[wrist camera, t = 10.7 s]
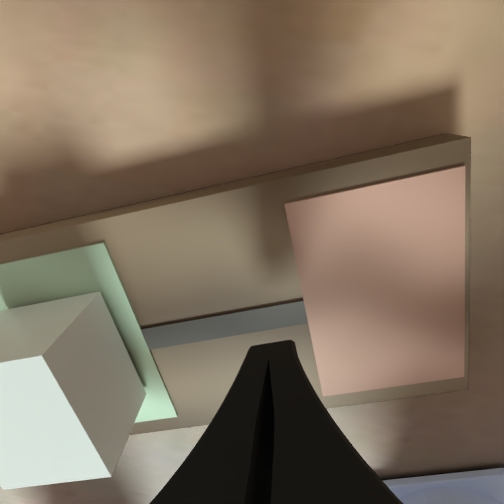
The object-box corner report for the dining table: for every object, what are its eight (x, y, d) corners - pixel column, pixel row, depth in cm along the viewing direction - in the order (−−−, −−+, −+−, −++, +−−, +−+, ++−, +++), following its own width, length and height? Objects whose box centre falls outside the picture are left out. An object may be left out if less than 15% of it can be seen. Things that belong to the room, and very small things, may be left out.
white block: (146, 393, 14) (111, 476, 11) (60, 406, 15) (2, 489, 12) (99, 291, 13) (41, 355, 9) (3, 310, 13) (-84, 377, 10)
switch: (450, 363, 15) (469, 391, 14) (13, 427, 18) (-9, 455, 17) (446, 133, 12) (472, 137, 10) (-103, 257, 14) (-145, 274, 13)
